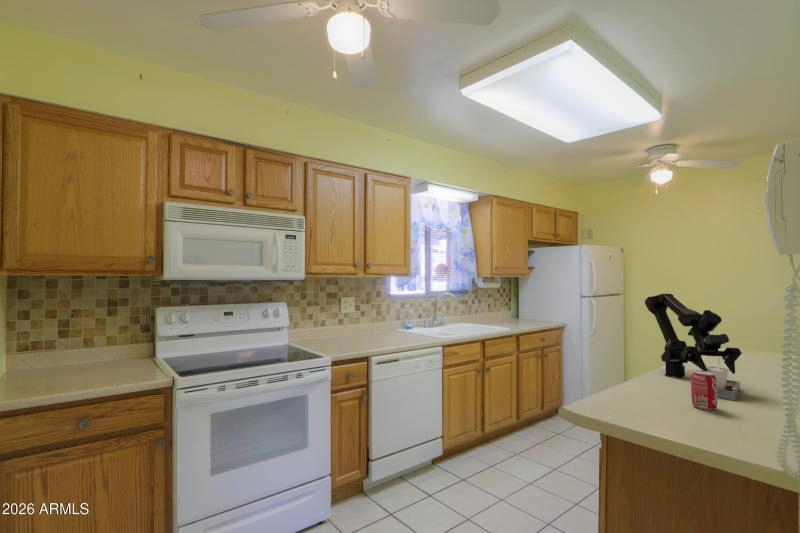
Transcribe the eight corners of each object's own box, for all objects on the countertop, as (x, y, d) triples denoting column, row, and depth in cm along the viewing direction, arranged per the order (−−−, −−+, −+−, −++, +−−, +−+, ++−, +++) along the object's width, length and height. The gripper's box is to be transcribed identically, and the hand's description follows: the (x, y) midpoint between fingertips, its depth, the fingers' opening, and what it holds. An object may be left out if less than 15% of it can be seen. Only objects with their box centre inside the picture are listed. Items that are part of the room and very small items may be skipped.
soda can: (712, 405, 137) (712, 370, 138) (721, 412, 131) (721, 375, 131) (688, 403, 140) (688, 369, 140) (695, 409, 133) (695, 373, 133)
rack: (698, 394, 150) (698, 385, 150) (706, 384, 165) (706, 376, 165) (735, 400, 143) (735, 391, 143) (740, 389, 157) (740, 381, 157)
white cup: (714, 396, 148) (714, 359, 148) (703, 391, 154) (703, 355, 154) (732, 397, 147) (733, 359, 147) (720, 391, 154) (720, 355, 154)
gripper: (685, 325, 156) (701, 359, 145) (738, 326, 153) (759, 361, 142) (674, 342, 164) (689, 375, 153) (725, 343, 161) (744, 378, 150)
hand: (720, 372), depth 149 cm, fingers open, 9 cm apart
